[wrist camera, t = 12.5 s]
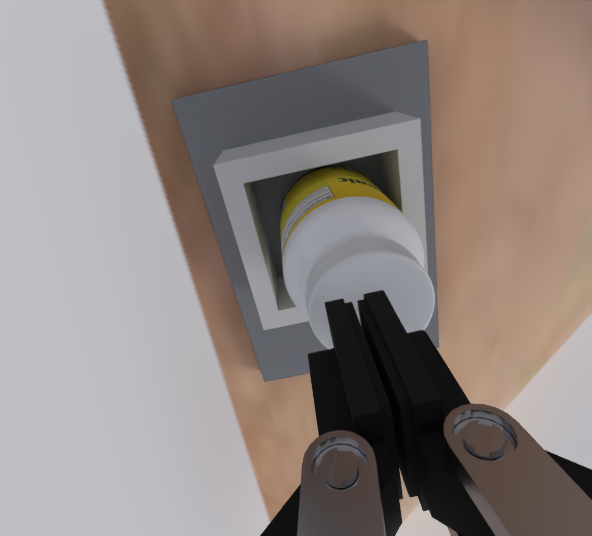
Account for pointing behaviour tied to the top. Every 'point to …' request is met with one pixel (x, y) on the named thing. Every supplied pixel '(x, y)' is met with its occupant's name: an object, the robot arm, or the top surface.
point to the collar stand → (297, 160)
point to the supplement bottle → (350, 249)
